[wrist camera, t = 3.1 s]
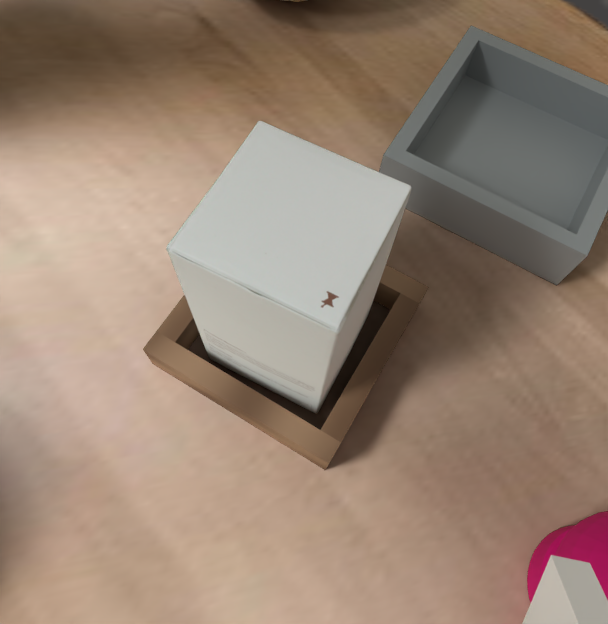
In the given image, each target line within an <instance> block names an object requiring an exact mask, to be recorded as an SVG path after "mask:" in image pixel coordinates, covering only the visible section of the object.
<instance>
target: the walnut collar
mask: <svg viewBox="0 0 608 624" xmlns="http://www.w3.org/2000/svg"><path fill="white" fill-rule="evenodd" d="M428 288H429V287H428V286H426V285H424V284H422V283H420V282H418V281H416V280H414V279H413V278H411V277H409V276H407V275H405V274H403V273H401V272H399V271H398V270H396V269H394V268H392V267H390V266H388V265H385V268H384V271H383V274H382V277H381V280H380V283H379V285H378V288H377V291H376V294H375V297H374V301H375V302H377V303H379V304H381V305H383V306H385V307H386V308H388V309H390V312H389V314H388V316H387V317H386V319H385V321H384V322H383V324H382V326H381V328H380V329H379V331H378V333H377V334H376V336H375V338H374V339H373V341H372V343H371V345H370V346H369V348H368V350H367V351H366V353H365V355H364V357H363V358H362V360H361V362H360V363H359V365H358V367H357V369H356V370H355V372H354V374H353V375H352V377H351V379H350V380H349V382H348V384H347V386H346V387H345V389H344V391H343V392H342V394H341V396H340V398H339V399H338V401H337V403H336V404H335V406H334V408H333V410H332V411H331V413H330V415H329V416H328V418H327V420H326V421H325V423H324V425H323V427H322V428H321V430H319V429H318V428H316V427H315V426H313V425H311V424H310V423H308V422H306V421H305V420H303V419H301V418H300V417H298V416H296V415H295V414H293V413H291V412H290V411H288V410H286V409H285V408H283V407H281V406H280V405H278V404H276V403H275V402H273V401H271V400H270V399H268V398H266V397H265V396H263V395H261V394H260V393H258V392H257V391H255V390H253V389H252V388H250V387H248V386H247V385H245V384H243V383H242V382H240V381H238V380H237V379H235V378H233V377H232V376H230V375H228V374H227V373H225V372H223V371H222V370H220V369H218V368H217V367H215V366H213V365H212V364H210V363H208V362H207V361H205V360H203V359H202V358H200V357H199V356H197V355H195V354H194V353H192V352H190V351H189V350H188V349H189V347H190V346H191V345H192V343H193V342H194V341H195V339H196V338H197V336H198V335H199V334H200V333H199V331H198V328H197V325H196V323H195V320H194V318H193V315H192V313H191V310H190V307H189V305H188V302H187V300H186V297H185V295H184V296H183V297H182V299H181V300H180V301H179V303H178V304H177V305H176V307H175V308H174V309H173V311H172V312H171V313H170V314H169V316H168V317H167V318H166V320H165V321H164V322H163V324H162V325H161V326H160V328H159V329H158V330H157V331H156V333H155V334H154V335H153V337H152V338H151V339H150V341H149V342H148V343H147V345H146V346H145V347H144V348H143V350H144V352H145V353H146V354H147V356H148V357H149V359H150V360H151V362H152V363H153V364H154V365H156V366H157V367H159V368H161V369H162V370H164V371H165V372H167V373H169V374H170V375H172V376H173V377H175V378H177V379H178V380H180V381H182V382H183V383H185V384H186V385H188V386H190V387H191V388H193V389H195V390H196V391H198V392H199V393H201V394H203V395H204V396H206V397H208V398H209V399H211V400H212V401H214V402H216V403H217V404H219V405H221V406H222V407H224V408H225V409H227V410H229V411H230V412H232V413H234V414H235V415H237V416H238V417H240V418H242V419H243V420H245V421H246V422H248V423H250V424H251V425H253V426H255V427H256V428H258V429H259V430H261V431H263V432H264V433H266V434H268V435H269V436H271V437H272V438H274V439H276V440H277V441H279V442H281V443H282V444H284V445H285V446H287V447H289V448H290V449H292V450H294V451H295V452H297V453H298V454H300V455H302V456H303V457H305V458H307V459H308V460H310V461H311V462H313V463H315V464H316V465H318V466H320V467H321V468H323V469H324V470H326V468H327V466H328V465H329V463H330V461H331V459H332V458H333V456H334V454H335V452H336V451H337V449H338V447H339V445H340V443H341V442H342V440H343V438H344V436H345V435H346V433H347V431H348V429H349V428H350V426H351V424H352V422H353V420H354V419H355V417H356V415H357V413H358V412H359V410H360V408H361V406H362V405H363V403H364V401H365V399H366V397H367V396H368V394H369V392H370V390H371V389H372V387H373V385H374V383H375V382H376V380H377V378H378V376H379V374H380V373H381V371H382V369H383V367H384V366H385V364H386V362H387V360H388V359H389V357H390V355H391V353H392V351H393V350H394V348H395V346H396V344H397V343H398V341H399V339H400V337H401V336H402V334H403V332H404V330H405V328H406V327H407V325H408V323H409V321H410V320H411V318H412V316H413V314H414V312H415V311H416V309H417V307H418V305H419V304H420V302H421V300H422V298H423V297H424V295H425V293H426V291H427V289H428Z"/></svg>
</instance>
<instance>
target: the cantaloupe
mask: <svg viewBox="0 0 608 624" xmlns="http://www.w3.org/2000/svg"><path fill="white" fill-rule="evenodd" d="M282 1H294V2H300V1H306V0H282Z"/></svg>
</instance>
